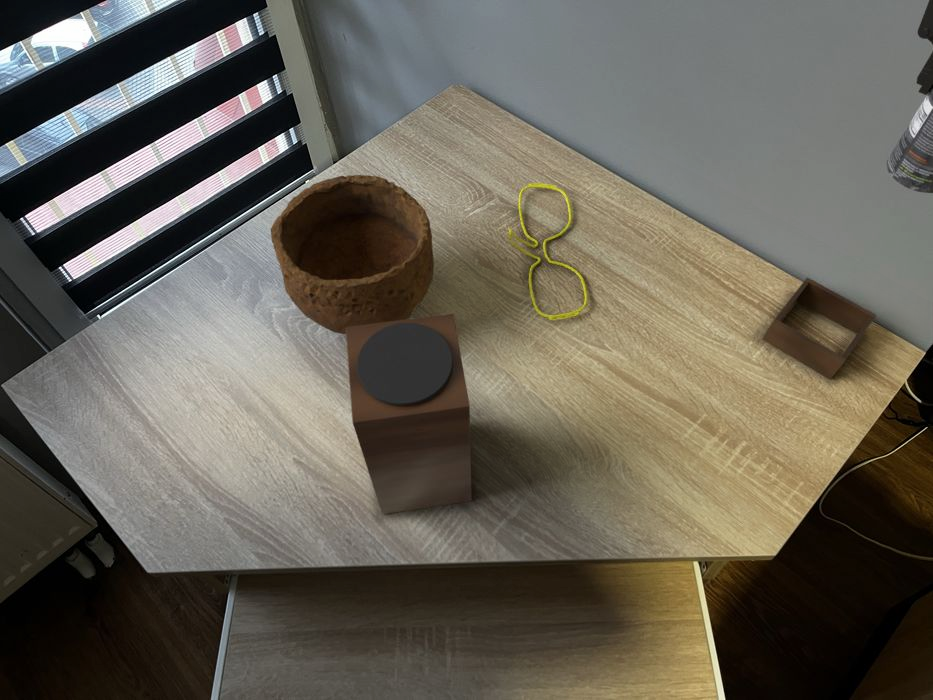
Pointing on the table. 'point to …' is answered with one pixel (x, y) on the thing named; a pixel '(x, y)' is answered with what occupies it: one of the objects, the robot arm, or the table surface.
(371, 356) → the coaster
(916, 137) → the pill bottle
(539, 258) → the glasses
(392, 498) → the stand
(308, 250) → the bowl
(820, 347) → the brown wooden square box
